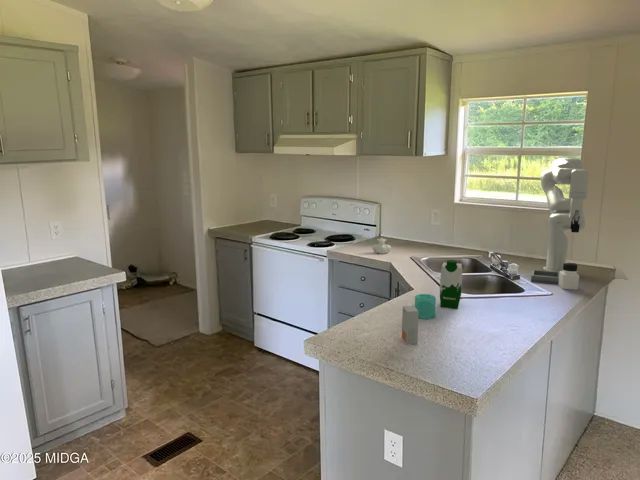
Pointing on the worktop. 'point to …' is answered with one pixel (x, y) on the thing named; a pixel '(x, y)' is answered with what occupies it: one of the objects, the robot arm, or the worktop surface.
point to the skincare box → (410, 325)
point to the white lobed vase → (381, 247)
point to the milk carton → (450, 284)
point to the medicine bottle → (569, 277)
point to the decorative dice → (425, 306)
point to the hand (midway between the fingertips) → (574, 230)
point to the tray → (545, 276)
